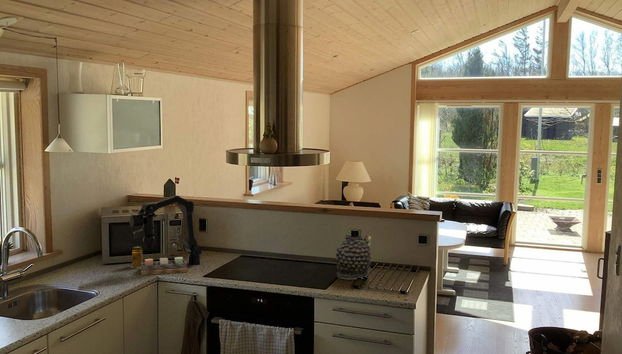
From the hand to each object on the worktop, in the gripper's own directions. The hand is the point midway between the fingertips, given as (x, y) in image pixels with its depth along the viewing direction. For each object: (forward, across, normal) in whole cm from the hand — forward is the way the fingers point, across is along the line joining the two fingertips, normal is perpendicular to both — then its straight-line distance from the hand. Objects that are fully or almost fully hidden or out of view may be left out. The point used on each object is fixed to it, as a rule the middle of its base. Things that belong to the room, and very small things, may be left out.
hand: (148, 251), depth 340 cm
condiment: (+12, -14, -6) cm, 19 cm away
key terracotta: (+8, 0, 0) cm, 8 cm away
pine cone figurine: (+12, +43, +110) cm, 119 cm away
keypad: (+12, 0, +8) cm, 15 cm away
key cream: (+8, 0, +8) cm, 12 cm away
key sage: (+8, 0, +17) cm, 19 cm away
